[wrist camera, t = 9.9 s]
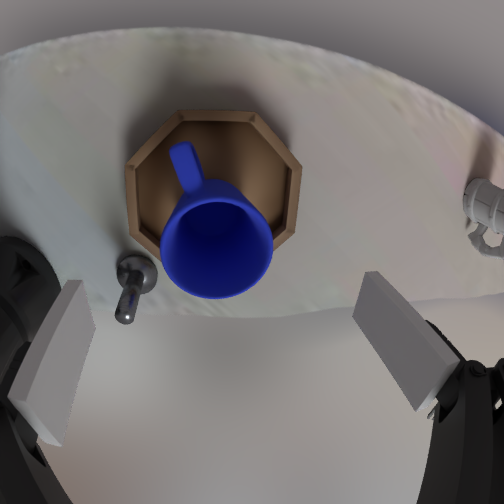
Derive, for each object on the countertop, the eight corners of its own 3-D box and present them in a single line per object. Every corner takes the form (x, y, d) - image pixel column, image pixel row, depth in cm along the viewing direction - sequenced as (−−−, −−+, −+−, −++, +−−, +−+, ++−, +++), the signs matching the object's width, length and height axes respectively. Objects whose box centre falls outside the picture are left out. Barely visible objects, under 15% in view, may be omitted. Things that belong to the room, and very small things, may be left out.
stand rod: (121, 290, 34) (106, 334, 26) (115, 255, 32) (95, 295, 24) (159, 290, 35) (152, 335, 27) (155, 254, 33) (145, 295, 25)
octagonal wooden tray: (140, 262, 33) (134, 277, 30) (133, 113, 25) (124, 113, 22) (281, 259, 36) (288, 274, 33) (295, 116, 28) (307, 117, 25)
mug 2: (489, 180, 36) (540, 203, 26) (473, 241, 41) (518, 273, 31) (467, 171, 35) (524, 195, 24) (449, 239, 40) (499, 275, 29)
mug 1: (225, 122, 26) (238, 123, 17) (260, 230, 31) (285, 279, 23) (145, 151, 26) (118, 169, 17) (188, 256, 31) (186, 312, 22)
